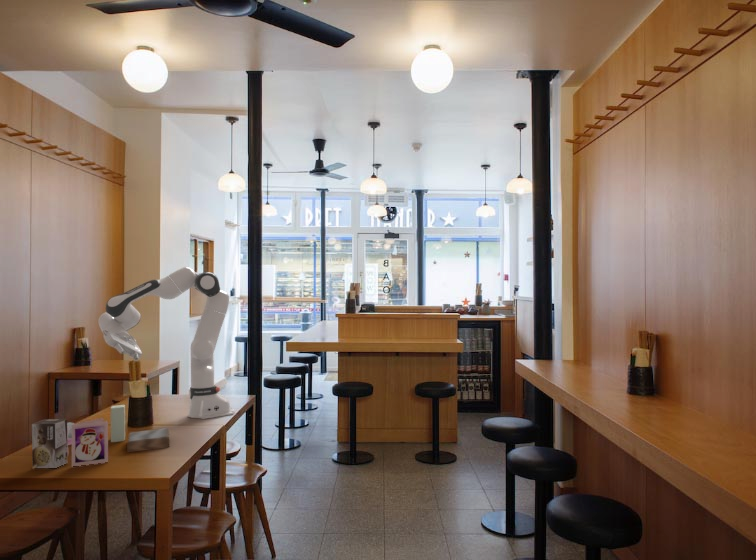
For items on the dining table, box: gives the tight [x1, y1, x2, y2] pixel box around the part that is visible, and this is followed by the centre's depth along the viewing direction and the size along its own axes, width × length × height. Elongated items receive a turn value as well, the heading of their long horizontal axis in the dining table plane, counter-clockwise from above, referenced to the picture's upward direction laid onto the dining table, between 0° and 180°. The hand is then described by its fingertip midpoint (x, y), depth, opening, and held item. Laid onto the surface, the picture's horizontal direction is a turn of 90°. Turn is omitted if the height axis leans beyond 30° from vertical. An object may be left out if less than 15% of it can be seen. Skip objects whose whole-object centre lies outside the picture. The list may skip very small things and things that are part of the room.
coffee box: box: [31, 418, 68, 469], centre depth 182 cm, size 9×6×16 cm
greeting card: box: [71, 417, 109, 468], centre depth 185 cm, size 11×7×15 cm, turn 114°
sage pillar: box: [110, 404, 126, 443], centre depth 213 cm, size 5×5×14 cm
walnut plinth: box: [126, 427, 170, 453], centre depth 206 cm, size 15×15×4 cm
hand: (129, 356), depth 231 cm, fingers open, 8 cm apart
